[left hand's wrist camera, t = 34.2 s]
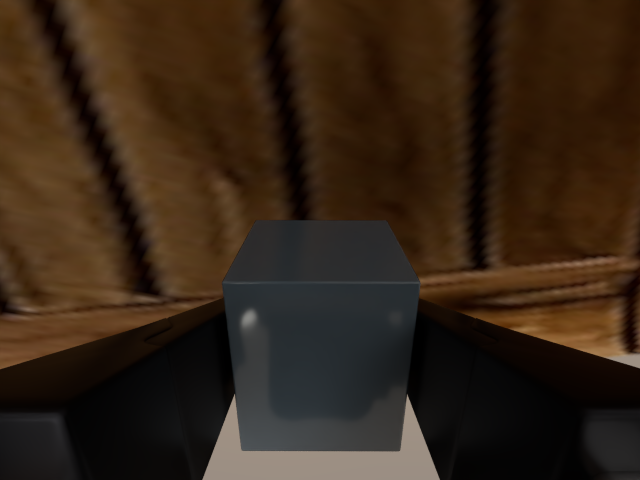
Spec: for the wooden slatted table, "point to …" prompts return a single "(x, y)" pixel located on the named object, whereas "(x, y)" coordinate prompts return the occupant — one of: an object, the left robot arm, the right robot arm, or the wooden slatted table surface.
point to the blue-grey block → (321, 335)
